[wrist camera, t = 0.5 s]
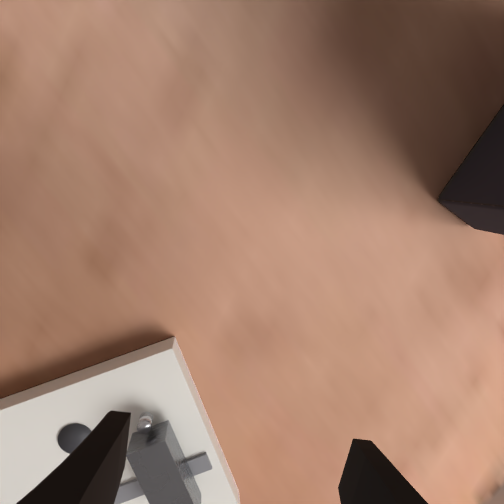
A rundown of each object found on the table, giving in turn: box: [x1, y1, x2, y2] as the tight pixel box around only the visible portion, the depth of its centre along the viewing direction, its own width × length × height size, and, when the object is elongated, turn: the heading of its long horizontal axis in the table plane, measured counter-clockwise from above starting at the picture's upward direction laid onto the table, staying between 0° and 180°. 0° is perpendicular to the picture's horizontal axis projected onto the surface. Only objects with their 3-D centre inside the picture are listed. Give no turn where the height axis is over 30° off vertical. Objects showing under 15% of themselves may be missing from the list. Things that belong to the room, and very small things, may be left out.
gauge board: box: [0, 336, 240, 504], centre depth 21 cm, size 18×11×2 cm, turn 108°
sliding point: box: [126, 412, 201, 504], centre depth 19 cm, size 2×6×2 cm, turn 18°
